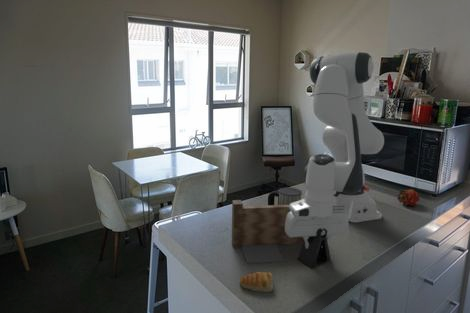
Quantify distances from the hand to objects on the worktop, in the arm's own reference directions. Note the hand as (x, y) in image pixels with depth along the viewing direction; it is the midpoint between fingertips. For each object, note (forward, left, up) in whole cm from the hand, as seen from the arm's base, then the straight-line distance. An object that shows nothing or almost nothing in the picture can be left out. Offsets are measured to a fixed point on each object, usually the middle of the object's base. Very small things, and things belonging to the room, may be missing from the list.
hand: (315, 247), depth 109 cm
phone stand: (0, 0, -5) cm, 5 cm away
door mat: (+16, -6, -5) cm, 18 cm away
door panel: (+11, -12, -5) cm, 17 cm away
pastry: (+21, +11, -5) cm, 24 cm away
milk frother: (+4, -25, -5) cm, 26 cm away
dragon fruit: (-64, -44, -5) cm, 78 cm away
